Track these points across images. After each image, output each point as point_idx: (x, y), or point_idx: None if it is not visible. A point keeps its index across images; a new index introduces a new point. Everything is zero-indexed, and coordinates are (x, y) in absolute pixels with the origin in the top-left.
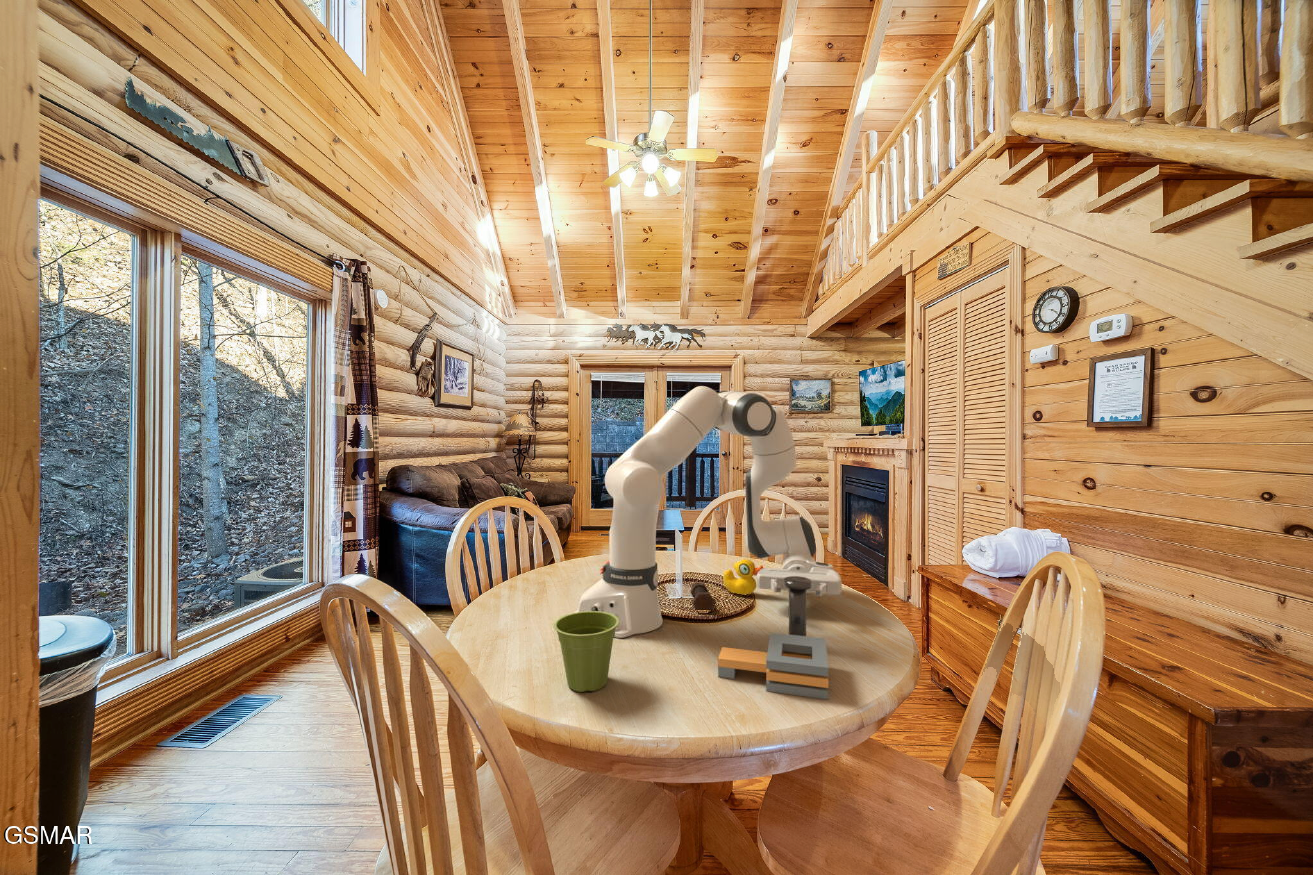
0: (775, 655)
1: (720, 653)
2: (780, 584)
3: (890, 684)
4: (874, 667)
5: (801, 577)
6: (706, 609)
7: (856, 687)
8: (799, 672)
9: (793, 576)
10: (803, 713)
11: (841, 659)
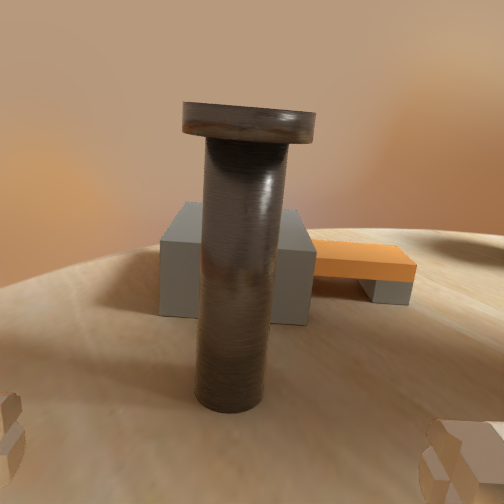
0: (283, 214)
1: (403, 253)
2: (467, 457)
3: (26, 283)
4: (9, 321)
5: (228, 105)
6: None
7: (114, 275)
8: None
9: (273, 109)
10: None
11: (91, 342)
